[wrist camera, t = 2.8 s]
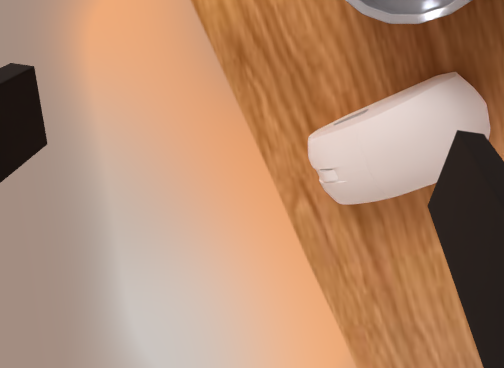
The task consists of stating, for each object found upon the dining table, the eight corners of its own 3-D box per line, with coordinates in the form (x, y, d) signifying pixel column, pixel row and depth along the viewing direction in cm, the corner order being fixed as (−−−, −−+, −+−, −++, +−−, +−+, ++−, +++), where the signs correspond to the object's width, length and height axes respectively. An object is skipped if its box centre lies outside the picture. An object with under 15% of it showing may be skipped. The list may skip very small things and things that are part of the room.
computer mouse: (304, 131, 36) (281, 154, 31) (468, 58, 30) (475, 71, 25) (337, 197, 38) (320, 231, 32) (501, 141, 31) (514, 171, 26)
